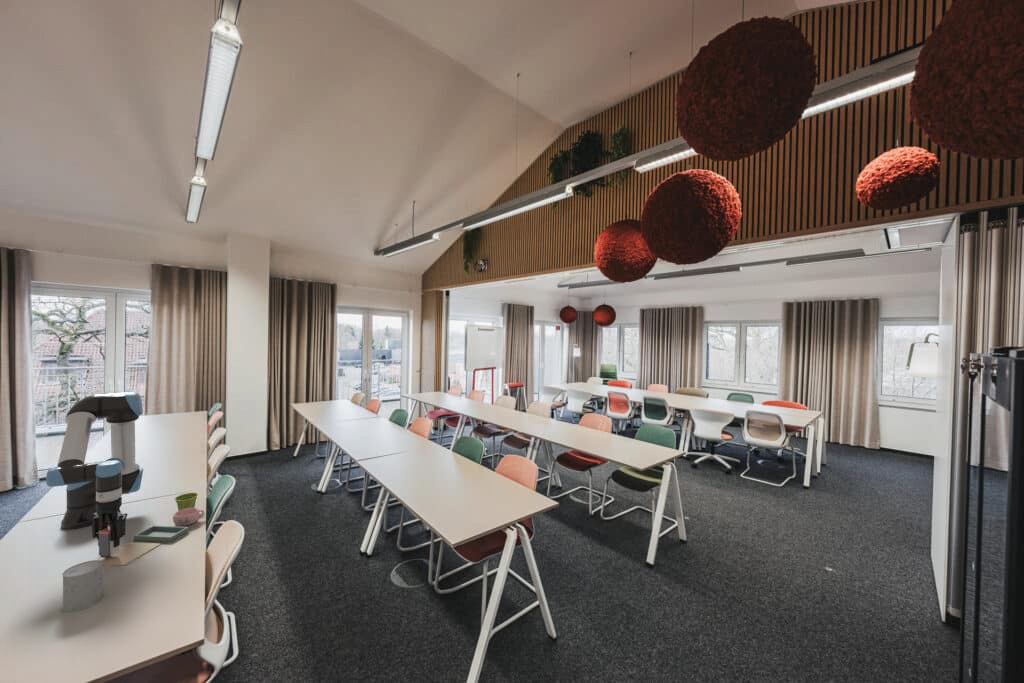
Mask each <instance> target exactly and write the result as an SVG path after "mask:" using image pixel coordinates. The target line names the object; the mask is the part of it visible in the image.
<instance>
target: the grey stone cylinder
mask: <svg viewBox="0 0 1024 683" xmlns="http://www.w3.org/2000/svg"><path fill="white" fill-rule="evenodd" d="M103 566H104V565H103V562H102V561H100V560H98V559H93V560H88V561H83V562H80V563H77V564H75V565H73V566H70V567H69V568H66V570H64V571H63V572H62V611H63V612H66V613H73V612H77V611H81V610H84V609H86V608H90V607H91V606H93V605H95V604H97V603H98V602H99V601H101V600H102V598H103V597H104V594H103Z"/></svg>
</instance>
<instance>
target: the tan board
mask: <svg viewBox="0 0 1024 683" xmlns="http://www.w3.org/2000/svg"><path fill="white" fill-rule="evenodd" d="M160 545H162V542H141V541H130V542H128V543H126V544H124V545H123V546H121V547H119V552H118V553H116V554H114V555H113V556H111V557H109V558H101V557H99V559H97V560H100V561H102V562H103V565H102V566H116V567H117V566H120V567H122V566H124V567H125V566H127V565H129V564H130V563H132V562H133V561H135V560H137V559H139V558H141V557H142V556H144V555H145V554H147V553H149V552H150V551H152V550H154V549H156V548H157V547H159V546H160Z"/></svg>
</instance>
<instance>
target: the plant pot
mask: <svg viewBox="0 0 1024 683" xmlns="http://www.w3.org/2000/svg"><path fill="white" fill-rule="evenodd" d="M198 496H199V493H198V492H189V493H188V492H187V493H183V494H180V495H178V496H176V497H175V498H174V500H175V502H176V505H177V512H178V511H180V510H183V509H187V508H196V503H197V498H198Z"/></svg>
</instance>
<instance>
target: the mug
mask: <svg viewBox="0 0 1024 683" xmlns="http://www.w3.org/2000/svg"><path fill="white" fill-rule="evenodd" d="M200 513H201V515H200ZM204 515H205V511H204V510H202V509H199V508H197V507H195V508H187V509H183V510H180V511H178V510H177V511H176V512H175V513H174V514H173V515H172V522H173V523H174V525H175V527H187V526H190V525H192V524H195V522H197V520H198V519H199V518H201V517H203V516H204Z"/></svg>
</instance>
